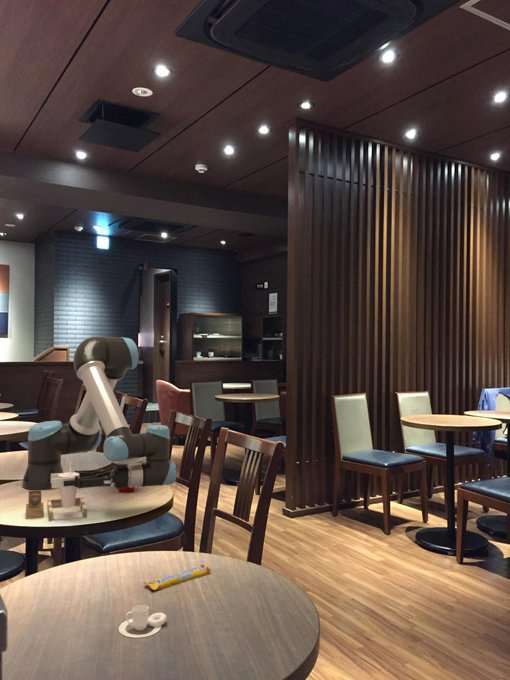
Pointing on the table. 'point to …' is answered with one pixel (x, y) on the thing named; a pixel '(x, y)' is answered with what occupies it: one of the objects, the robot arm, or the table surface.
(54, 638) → the table surface
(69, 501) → the smoothie
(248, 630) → the table surface
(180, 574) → the candy bar
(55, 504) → the bay
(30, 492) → the winch
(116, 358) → the robot arm
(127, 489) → the plastic cup
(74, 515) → the mat
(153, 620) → the teacup and saucer
